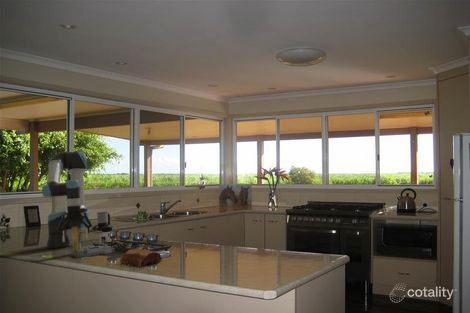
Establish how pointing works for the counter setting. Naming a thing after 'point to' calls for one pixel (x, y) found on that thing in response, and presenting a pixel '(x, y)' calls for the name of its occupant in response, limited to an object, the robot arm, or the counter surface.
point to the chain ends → (94, 251)
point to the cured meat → (140, 257)
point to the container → (105, 234)
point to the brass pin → (75, 239)
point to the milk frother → (102, 220)
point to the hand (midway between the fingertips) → (75, 240)
